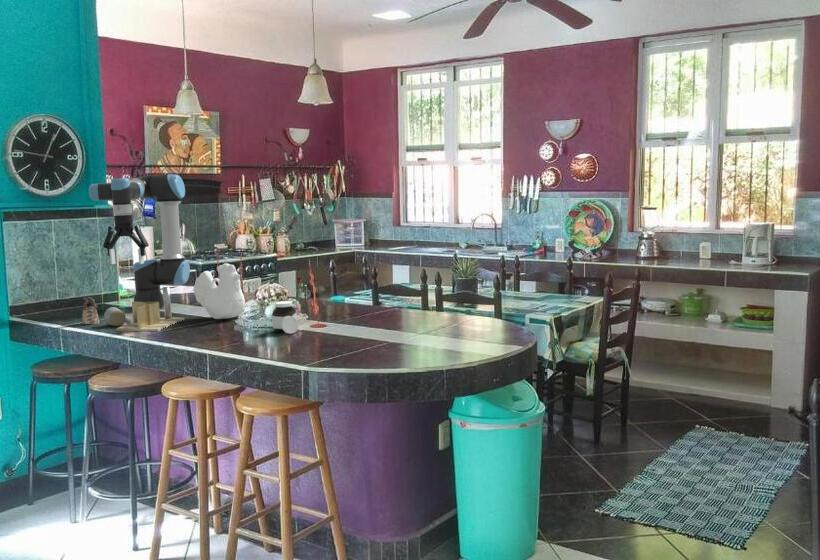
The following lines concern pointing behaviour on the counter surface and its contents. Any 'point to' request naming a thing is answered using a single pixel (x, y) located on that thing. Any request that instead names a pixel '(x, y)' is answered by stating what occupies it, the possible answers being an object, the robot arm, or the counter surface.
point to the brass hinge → (146, 313)
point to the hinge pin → (167, 303)
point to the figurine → (89, 312)
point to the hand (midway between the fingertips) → (127, 263)
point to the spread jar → (284, 317)
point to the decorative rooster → (220, 292)
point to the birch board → (156, 327)
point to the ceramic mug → (115, 317)
